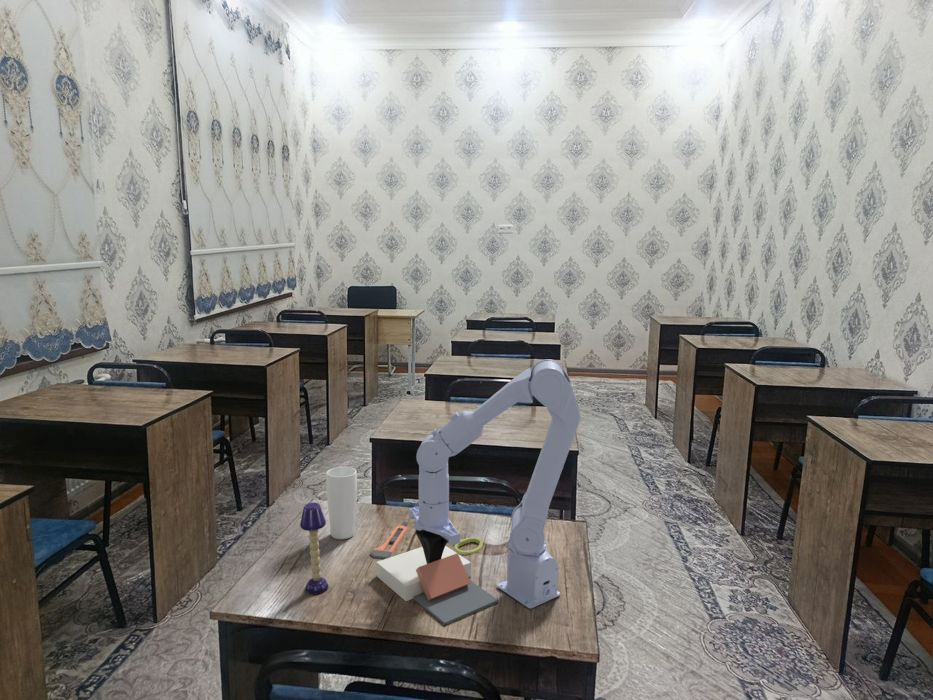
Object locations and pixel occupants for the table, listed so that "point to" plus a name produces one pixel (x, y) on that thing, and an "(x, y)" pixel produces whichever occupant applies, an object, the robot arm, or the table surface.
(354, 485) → the drinking glass
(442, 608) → the mat
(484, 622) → the table surface
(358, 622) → the table surface
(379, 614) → the table surface
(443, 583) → the pink rubber eraser
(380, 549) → the utility knife
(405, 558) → the white rectangular block
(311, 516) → the toy lamp
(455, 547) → the key
